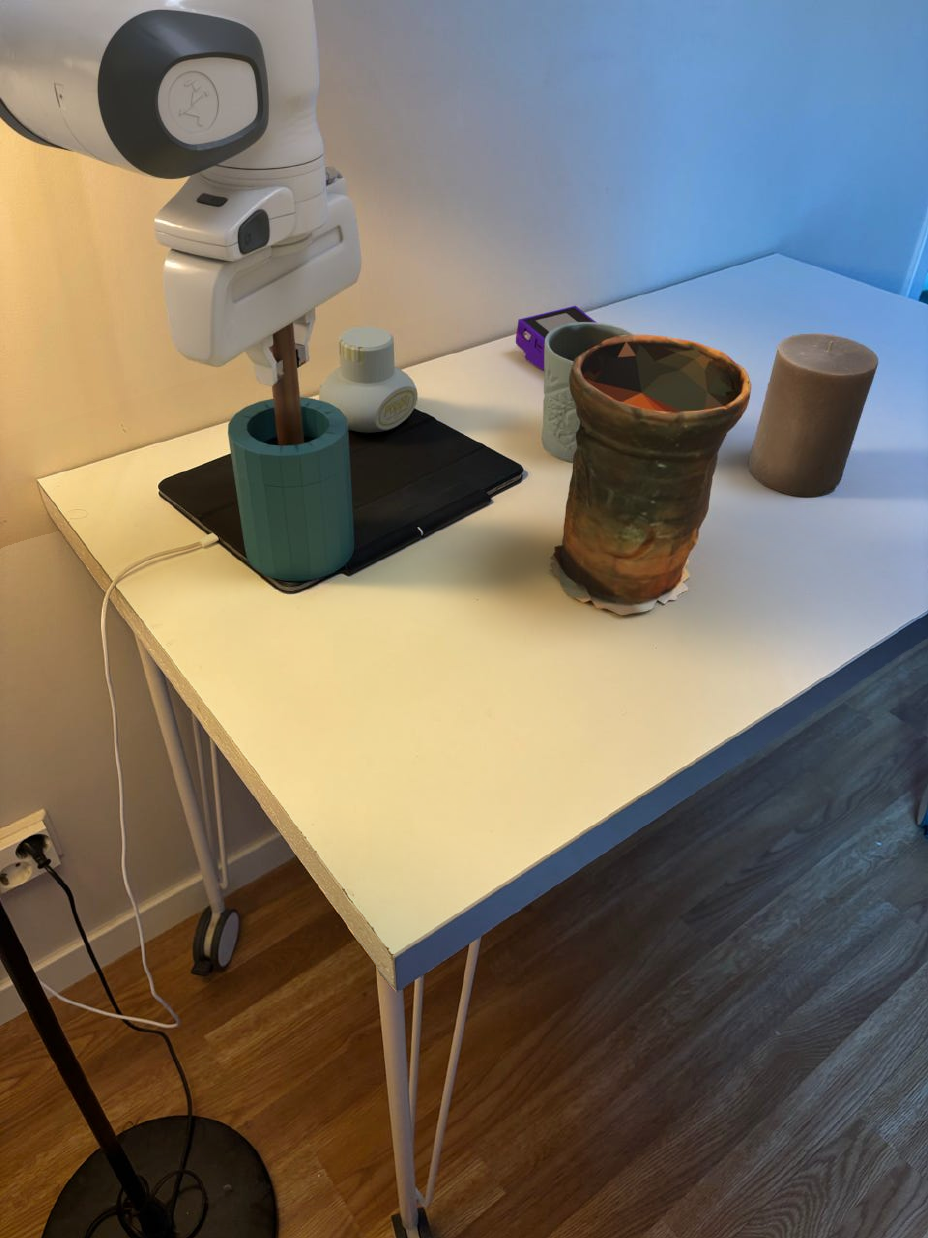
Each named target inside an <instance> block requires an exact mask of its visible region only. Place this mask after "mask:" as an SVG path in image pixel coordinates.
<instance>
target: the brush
mask: <svg viewBox="0 0 928 1238" xmlns="http://www.w3.org/2000/svg"><path fill="white" fill-rule="evenodd" d="M269 349H270V351H271V353H272V355H273V357H274V358H278V359H282V360H283V372H284V377H283V379H281V380H280V381H279V382H277V383H276V384H274V385H273V386H271V391H272V399H273V402H274V411H275V420H276V429H277V438H278V446H288V445H299V444H303V443H304V436H303V425H302V414H301V403H300V397H301V394H300V393H301V391H300V384H299V383H300V382H299V371H298V368H297V359H296V348H295V337H294V326H293V322H292V323H290V324H289V325H287V326H285V327H284V328H282V329H281V330H279V331H277V332H276V333H274V334H273V345H272V346H271V347H269Z"/></svg>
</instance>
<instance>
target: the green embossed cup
mask: <svg viewBox="0 0 928 1238" xmlns="http://www.w3.org/2000/svg"><path fill="white" fill-rule="evenodd" d="M596 322H597V321H596ZM596 322H577V323H569V324H565V325H561V326H559V327H556V328H554V329H553V330H551V331H550V332H549V333H548V334H547V336H546V338H545V353H544V369H545V371H544V375H543V376H544V377H543V394H544V395H543V401H542V402H543V403H542V404H543V406H542V410H543V411H542V430H541V443H542V446H543V448H544V449H545V451H546V452H547V453H548V454H550V455H551V456H553V457H555V458H557V459H559V460H560V461H561V460H562V461H565V462H568V463H572V464H573V457H574V454H575V452H576V450H577V442H576V432H577V431H578V430H579V426H580V420H579V418H578V416H577V413H576V408H577V406H576V404H575V402H574V399H573V397H572V395H571V391H570V384H569V376H570V372H571V369H572V365H573V363H574V359H575V358H576V357H578V356H579V355H580V354H581V353H583V352H585V351H586V350H588V349H590V348H592V347H594V346H596V345H598V344H600V343H601V342H603V341H604V340H606V339H610V338H613V337H616V336H620V335H635V334H634V333H632V332H631V331H629V330H626V329H624V328H622V327H619V326H615V325H612V324H608V323H604V322H597V323H596Z"/></svg>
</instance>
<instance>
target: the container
mask: <svg viewBox="0 0 928 1238" xmlns="http://www.w3.org/2000/svg"><path fill="white" fill-rule="evenodd" d="M300 403H301V414H302V425H303V436H304V443H303V444H299V445H288V446H278V438H277V429H276V420H275V411H274V402H273V398H270V399H265V400H261V401H258V402H254V403H253V404H250V405H247V406H245V407H243V408H242V409H241V410H239V411H237V412H235V414H233V416H232V418H231V419H230V421H229V422H228V425H227V436H228V437H227V438H228V444H229V450H230V456H231V457H230V459H231V462H232V471H233V477H234V485H235V490H236V498H237V506H238V511H239V516H240V517H239V518H240V525H241V532H242V539H243V545H244V552H245V554H246V558H247V561H248V563H249V564H250V566H251V567H252V568H253V569H254V570H255V571H257V572H258V573H260V574H261V575H263V576H265V577H268V578H271V579H275V580H279V581H284V582H285V581H286V582H305V581H306V582H307V581H313V580H318V579H321V578H324V577H326V576H330V575H332V574H334V573H336V572H337V571H339V570H340V569H342V568H343V567H345V566H346V565H347V563H349V561H350V560H351V558H352V556H353V554H354V552H355V551H354V550H355V531H354V512H353V495H352V494H353V493H352V492H353V491H352V475H351V474H352V473H351V455H350V440H349V439H350V437H349V430H348V423H347V418H346V416H345V415H344V414H343V413H342V412H341V410H340V409H338V408H337V407H335V406H333V405H331V404H330V403H327V402H323V401H320V400H319V399H317V398H311V397H304V396H303V397H302V396H300Z"/></svg>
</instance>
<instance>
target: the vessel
mask: <svg viewBox="0 0 928 1238" xmlns="http://www.w3.org/2000/svg"><path fill="white" fill-rule="evenodd" d="M569 384H570V391H571V395H572V397H573V399H574V402H575V404H576V406H577V408H576V413H577V416H578V418H579V420H580V426H579V430H578V431H577V432H576V442H577V450H576V452H575V454H574V457H573V463H572V471H571V477H570V481H569V487H568V494H567V500H566V504H565V513H564V521H563V533H562V534H563V536H562V542H561V545H556V546H554V552H553V554H552V555H551V557H549V559H550V560H551V563H550V569H549V570H548V571H549V572H550V573H551V574H552V575H553V576H555V577H557V578H558V580H559V582H560V584H561V588H562V590H563V591H564V592H565V593H566V594H567V595H568V596H569V597H570V598H573V599H576V600H577V601H579V602H581V603H583V604H584V603H587V602H589V601H591V602H592V604H593V605H594V606H595V608H596V609H606V610H608V611H611V612H612V613H615V614H617V615H619V616H626V615H630V614H638V613H645V612H648V611H651V610H653V608H654V607H655V605H656V604H657V601H659V602H661V603H662V604H664V605H666V604H667V602H668V601H676V600H677V599H678V596H680V594H682V593H685V592H687V591H689V590H690V589H689V587H688V586H687V584H685V583H684V582H686V581H687V580H688V579H689V578H691V573H690V572H689V570H688V569H687V568H686V566H687V565H689V562H690V558H689V556H690V554H691V552H692V551H693V549H694V548H695V547H696V545H697V542H698V541H699V540H698V539H699V534H700V529H701V526H702V524H703V522H704V521H705V519H706V517H707V515H708V512H709V508H710V501H711V500H710V499H711V491H712V485H713V478H714V474H715V472H716V467H717V465H718V459H719V458H718V457H719V452H720V449H721V447H722V445H723V443H724V442H725V439H726V437H727V433H728V432H729V431H731V430H732V429H733V428H734V427H735V426H736V424H737V423H738V422H739V421H740V420H741V419H742V417H743V415H744V413H745V412H746V410H747V408H748V406H749V403H750V399H751V393H752V382H751V379H750V375H749V374H748V372H747V370H746V368H744V367H743V366H741V365H740V364H739V363H736V362H735V361H734V360H733V359H732V358H731V357H730V356H729V355H728V354H726V353H724V351H721V350H719V349H716V348H712V347H710V346H707V345H704V344H702V343H700V342H697V341H693V340H686V339H682V338H681V339H680V338H674V337H668V336H664V335H657V334H656V335H655V334H653V335H652V334H634V335H620V336H616V337H613V338H610V339H606V340H604V341H603V342H601V343H600V344H598V345H596V346H594V347H592V348H590V349H588V350H586V351H585V352H583V353H581V354H580V355H579V356H578V357H576V358H575V359H574V363H573V365H572V369H571V372H570V376H569Z"/></svg>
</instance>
